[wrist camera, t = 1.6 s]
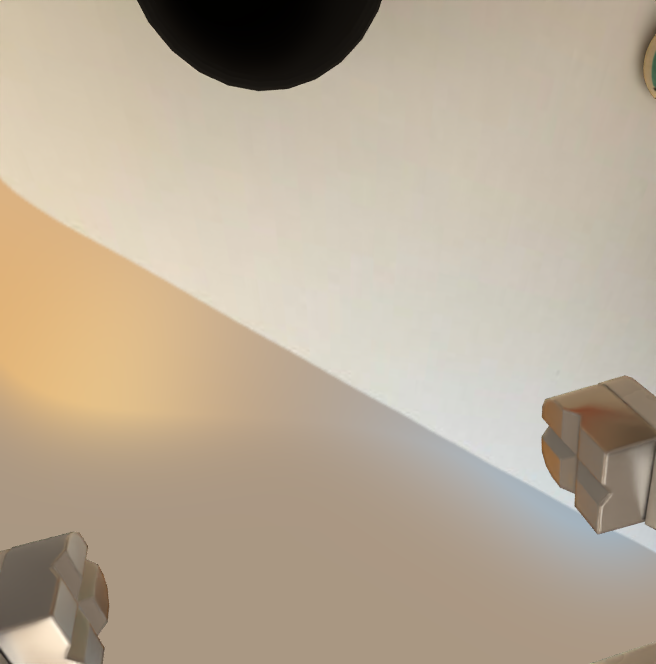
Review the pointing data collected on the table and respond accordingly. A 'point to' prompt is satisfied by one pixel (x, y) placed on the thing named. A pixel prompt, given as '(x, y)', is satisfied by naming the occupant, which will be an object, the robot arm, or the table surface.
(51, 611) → the robot arm
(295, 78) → the cup
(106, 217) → the table surface
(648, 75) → the whale figurine
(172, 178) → the table surface
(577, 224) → the table surface
